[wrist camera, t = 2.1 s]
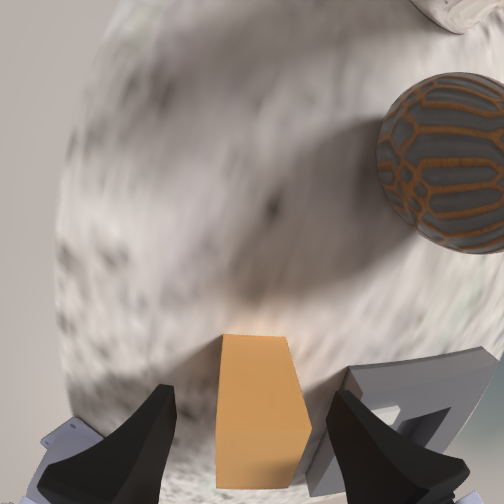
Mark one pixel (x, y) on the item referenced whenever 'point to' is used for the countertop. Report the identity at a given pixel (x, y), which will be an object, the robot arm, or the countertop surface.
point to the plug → (258, 414)
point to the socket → (410, 404)
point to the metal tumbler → (457, 12)
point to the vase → (447, 161)
